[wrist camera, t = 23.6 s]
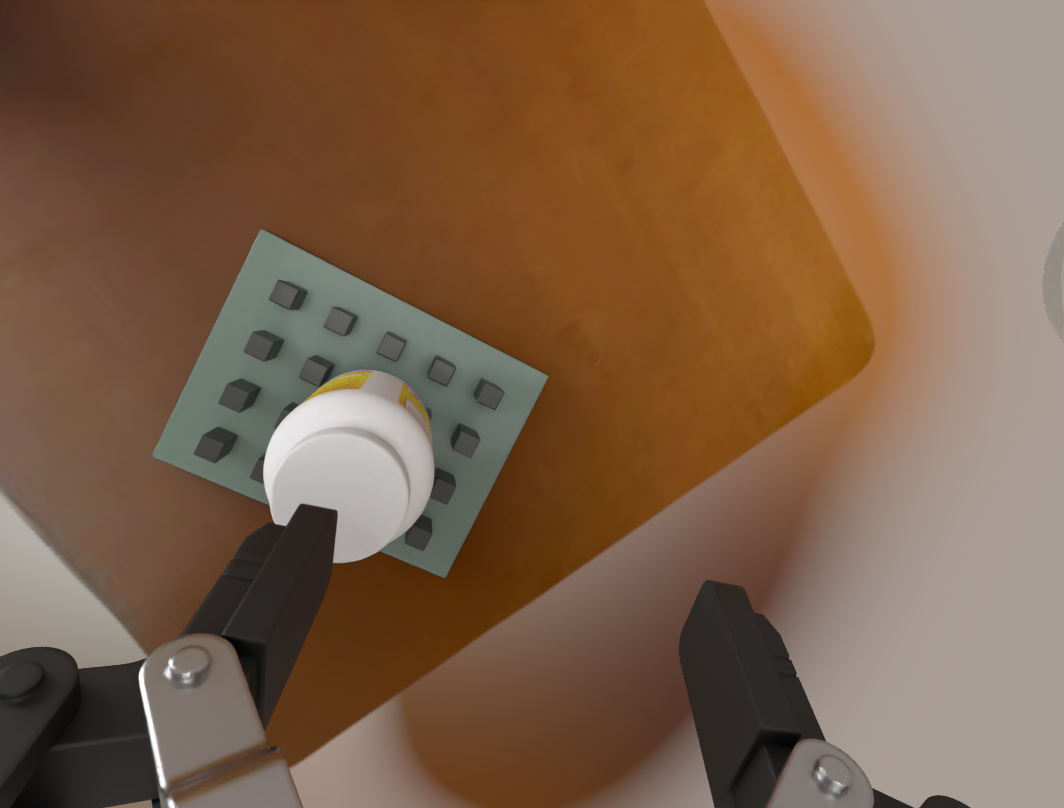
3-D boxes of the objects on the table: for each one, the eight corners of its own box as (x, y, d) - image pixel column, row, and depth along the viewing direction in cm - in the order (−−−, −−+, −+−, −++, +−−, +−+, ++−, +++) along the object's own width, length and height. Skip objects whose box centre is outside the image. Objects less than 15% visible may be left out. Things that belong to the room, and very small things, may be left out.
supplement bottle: (284, 460, 34) (202, 549, 21) (335, 347, 33) (282, 370, 21) (401, 507, 35) (389, 616, 23) (451, 399, 35) (467, 450, 22)
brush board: (545, 374, 39) (558, 380, 36) (444, 571, 40) (446, 596, 36) (266, 230, 35) (248, 221, 32) (160, 452, 36) (130, 467, 32)
